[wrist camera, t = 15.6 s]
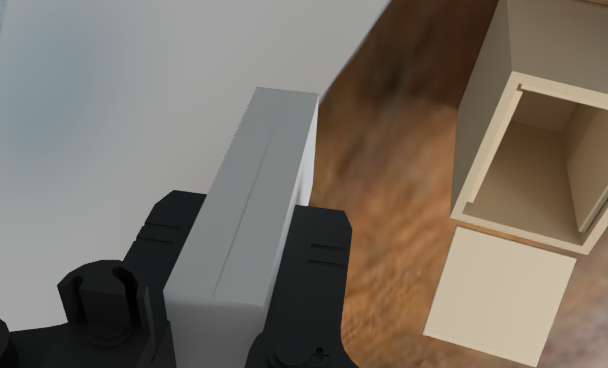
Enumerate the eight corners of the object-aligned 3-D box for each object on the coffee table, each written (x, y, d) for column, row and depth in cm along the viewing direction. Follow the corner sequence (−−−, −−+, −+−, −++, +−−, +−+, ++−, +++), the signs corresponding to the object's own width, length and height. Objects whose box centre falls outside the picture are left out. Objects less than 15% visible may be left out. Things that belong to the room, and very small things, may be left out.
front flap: (457, 226, 38) (456, 224, 38) (422, 334, 40) (422, 331, 40) (576, 259, 37) (574, 256, 37) (535, 367, 39) (534, 364, 39)
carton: (457, 110, 48) (449, 217, 38) (505, -18, 41) (512, 70, 31) (564, 137, 48) (587, 255, 37) (632, 11, 40) (684, 113, 30)
